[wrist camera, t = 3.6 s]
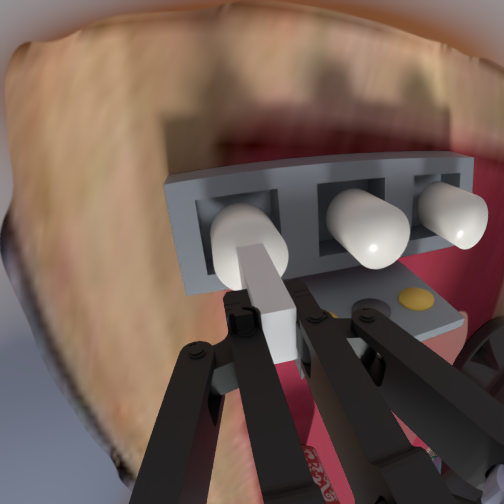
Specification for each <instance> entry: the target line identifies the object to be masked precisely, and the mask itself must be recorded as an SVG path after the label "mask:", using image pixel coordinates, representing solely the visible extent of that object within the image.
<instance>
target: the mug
mask: <svg viewBox="0 0 504 504" xmlns="http://www.w3.org/2000/svg"><path fill="white" fill-rule="evenodd" d="M302 448H303V451H304V454H305V457H306V460H307V463H308V466H309V468H310V471H311V474H312V477H313V480H314V481H315V483H317V484H318V485H319V487H320V489H321V491H322V494H323V497H324V499H325V502H326V504H340V502H339V500H338V498H337V496H336V494H335V491H334V489H333V487H332V485H331V483H330V480H329V478H328V476H327V474H326V472H325V469H324V467H323V465H322V463H321V461H320V458H319V456H318V454H317V451H316V450H315V448H313V447H311V446H304V445H303V446H302Z"/></svg>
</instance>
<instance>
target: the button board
mask: <svg viewBox="0 0 504 504" xmlns="http://www.w3.org/2000/svg"><path fill="white" fill-rule="evenodd" d="M473 171H474V157H470V156H466V155H462V154H459V153H455V152H451V151H399V152H372V153H353V154H337V155H324V156H312V157H300V158H290V159H280V160H271V161H262V162H254V163H246V164H238V165H231V166H224V167H217V168H210V169H203V170H197V171H191V172H185V173H179V174H173V175H168V177H167V179H166V181H165V183H164V190H165V196H166V202H167V207H168V212H169V218H170V223H171V228H172V233H173V238H174V243H175V248H176V252H177V257H178V262H179V266H180V271H181V275H182V280H183V284H184V288H185V293H186V296H189V295H195V294H201V293H208V292H214V291H220V290H226V289H230V288H228V287H227V286H225V285H224V284H223V283H222V282H221V281H220V279H219V278H218V276H217V274H216V272H215V269H214V263H213V255H212V246H211V237H210V229H211V224H212V222H213V220H214V218H215V216H216V215H217V214H218V213H219V212H220V211H221V210H222V209H223V208H225V207H226V206H228V205H231V204H234V203H240V202H244V203H250V204H253V205H256V206H258V207H259V208H261V209H262V210H263V211H264V212H265V213H266V215H267V216H268V218H269V219H270V220H271V222H272V223H273V225H274V226H275V228H276V229H277V231H278V232H279V233H280V235H281V236H282V238H283V239H284V241H285V243H286V245H287V249H288V264H287V267H286V270H285V272H284V273H283V275H282V276H281V279H282V280H285V279H291V278H296V277H302V276H307V275H313V274H318V273H324V272H329V271H334V270H340V269H345V268H350V267H355V266H360V265H362V264H361V263H360V262H359V261H358V260H357V259H356V258H355V257H354V256H353V255H352V254H350V253H349V252H348V251H347V250H346V249H345V248H344V247H343V246H342V245H341V244H340V243H339V242H338V241H337V240H336V239H335V238H334V237H333V236H332V235H331V234H330V232H329V231H328V228H327V225H326V213H327V209H328V207H329V205H330V203H331V201H332V200H333V199H334V198H335V197H336V196H337V195H338V194H339V193H341V192H342V191H344V190H347V189H352V188H357V189H361V190H364V191H366V192H368V193H370V194H372V195H374V196H376V197H378V198H380V199H382V200H383V201H385V202H387V203H389V204H391V205H393V206H395V207H397V208H399V209H400V210H401V211H402V212H403V213H404V214H405V215H406V217H407V219H408V222H409V227H410V235H409V240H408V243H407V246H406V248H405V250H404V252H403V253H402V255H401V256H400V257H405V256H410V255H414V254H419V253H424V252H428V251H433V250H438V249H442V248H447V247H451V246H456V245H454V244H452V243H451V242H449V241H447V240H446V239H444V238H443V237H441V236H439V235H438V234H436V233H434V232H433V231H431V230H429V229H427V228H426V227H424V226H423V225H422V224H421V222H420V221H419V218H418V214H417V204H418V200H419V197H420V195H421V193H422V191H423V190H424V188H425V187H426V186H427V185H429V184H430V183H432V182H435V181H441V182H444V183H447V184H449V185H452V186H455V187H457V188H460V189H462V190H465V191H467V192H470V193H472V187H473ZM400 257H399V258H400Z"/></svg>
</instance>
